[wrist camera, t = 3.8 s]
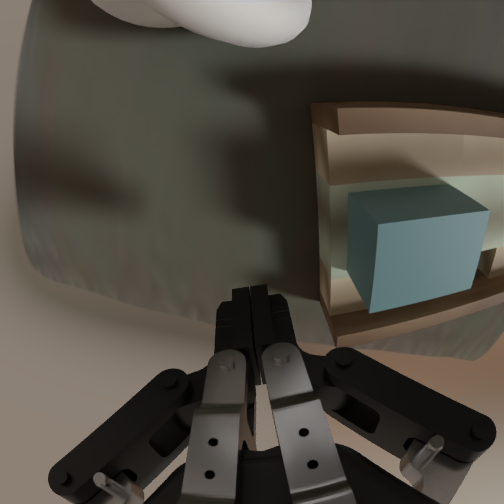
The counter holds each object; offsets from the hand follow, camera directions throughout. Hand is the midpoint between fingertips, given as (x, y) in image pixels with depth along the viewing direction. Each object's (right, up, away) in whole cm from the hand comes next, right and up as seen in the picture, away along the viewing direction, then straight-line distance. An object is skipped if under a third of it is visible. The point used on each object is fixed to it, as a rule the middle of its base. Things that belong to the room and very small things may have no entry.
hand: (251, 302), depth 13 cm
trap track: (+18, +6, +6) cm, 20 cm away
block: (+9, +4, +3) cm, 10 cm away
